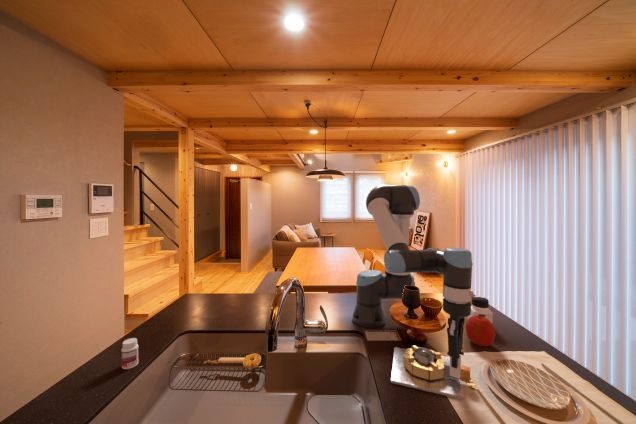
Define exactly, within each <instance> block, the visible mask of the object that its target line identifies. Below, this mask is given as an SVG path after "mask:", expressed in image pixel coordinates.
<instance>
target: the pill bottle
mask: <svg viewBox="0 0 636 424" xmlns="http://www.w3.org/2000/svg"><path fill="white" fill-rule="evenodd" d="M139 349H140V348H139V344H138V338H136V337H131V338H127V339H125V340H124V341H123V342H122V347H121V350H120V351H121V352H120V353H121V355H120V356H121V368H122V369H123V370H131V369H133V368H135V367H136V366H138V364H139V362H140V355H139V354H140V352H139Z"/></svg>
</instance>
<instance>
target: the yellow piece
mask: <svg viewBox="0 0 636 424" xmlns="http://www.w3.org/2000/svg"><path fill="white" fill-rule="evenodd" d="M417 348H420V346H417V345H416V344H415V345H411V347H409V348H405V349H406V351H405V353H404V355H403V364H404V366H405V367H406V368H407V369H408V370H409V372H410V373H411V374H413V375H415V376H418V377H421V378H424V379H427V380H429V379H430V380H434V379H440V378H443V377H444V375H447V376H450V363H448V362H446V360H445V359H444V358H443V357H441V356H442V353H441V352H440V351H435V350H432V349H429V350H430V351H432V352H433V353H434V362H431V364H430V365H424V364H421V363H418V362H416V361H415V349H417ZM450 377H453V376H450ZM453 378H455V377H453ZM457 379H458V378H457ZM459 381H461V382H465V383H467V384H471V367H470V366H466V365H463V364H461V377H460V379H459Z"/></svg>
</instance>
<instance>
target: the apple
mask: <svg viewBox="0 0 636 424" xmlns="http://www.w3.org/2000/svg"><path fill="white" fill-rule="evenodd" d="M464 329H465V332H466V336H467V338H468V339H469V340H470V341H471V343H473V344H475V345H477V346H478V347H488V346H490V345H493V343H494V340H495V338H496V328H495V326H494V323H493V324H492V323H491V322H490V321H489V320H488V319H487V318H485V317H483V316H481V315H480V316H478V315H474V316H472V317H470V318H469V319H468V318H467V319H466V321H465V324H464Z"/></svg>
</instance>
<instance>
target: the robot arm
mask: <svg viewBox="0 0 636 424" xmlns="http://www.w3.org/2000/svg"><path fill="white" fill-rule="evenodd" d="M420 204H421V198H420V193H419V191H418V189H417V188H416V187H415V186H414V185H410V184H409V185H408V184H407V185H406V184H380V185H377V186H375V187H373V188H372V190H370V191H369V193H368V194H367V196H366V200H365V205H366V210H367V212H368V214H369V215H371V217H372V218H373V221H374V223H375V226H376V228H377V230H378V234H379V235H380V239H381V240H382V242H383V245H384V247H385V250H386V251H385V252H384V255H383V262H384V273H382V271H381V270H377V269H369V270H368V269H367V270H363V271H361V272H358V274H357V277H356V283H355V284H356V303H355V306H354V310H353V312H352V321H353V322H354V323H355V324H356V325H358V326H360V327H365V328H370V329H373V328H379V327H382V326H384V325H385V324H386V323H385V322H386V318H385V314H384V310H383V307H382V300H391V299H392V300H395V299H396V300H397V299H399V300H403V299H402V295H403V294H402V293H403V289H404V286H405V285H412V286H415V287H416V281H415V277H414V275H413V274H412V273H438V274H440V275H442V277H443V279H442V297H443V298H442V310H443V311H444V313H446V314H448V315H449V317H447V325H448V327H447V328H446V333H447V347H448V348H447V350H448V351H447V352H446V355H448V357H450V376H453V377H455V378H458V379H459V380H460V377H461V365H462V356H464V354H465V352H464V351H462V350H463V343H464V342H463V340H464V329H465V324H466V321H465V318H466V317H467V318H468V316H469V315H470V314H471V306H472V295H474V294H475V293H474V291H471V290H472V277H473V276H472V275H473V274H472V273H473V259H472V258H473V257H472V252H471V250H469V249H467V248H460V247H447V248H445V249H444V250H442V249H439V248H437V247H435V248H433V247H429V248H425V249H410V247H409V245H410V244H409V243H410V242H409V241H410V224H411V223H410V221H411V218H412V217H413V216H415V213H414V212H415V211H417V210H418V209H419V208H420ZM461 355H462V356H461Z"/></svg>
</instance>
